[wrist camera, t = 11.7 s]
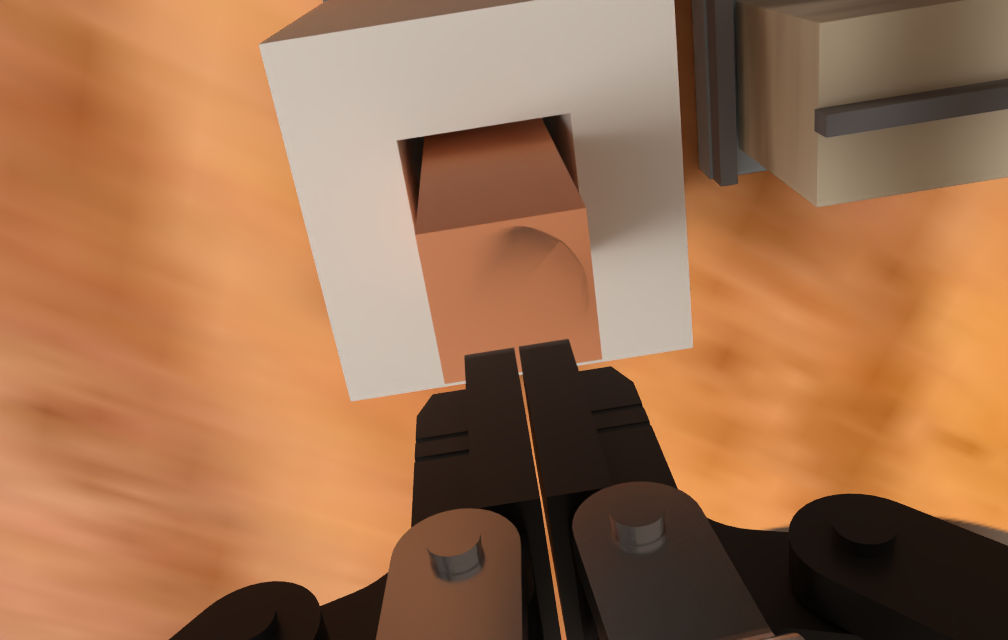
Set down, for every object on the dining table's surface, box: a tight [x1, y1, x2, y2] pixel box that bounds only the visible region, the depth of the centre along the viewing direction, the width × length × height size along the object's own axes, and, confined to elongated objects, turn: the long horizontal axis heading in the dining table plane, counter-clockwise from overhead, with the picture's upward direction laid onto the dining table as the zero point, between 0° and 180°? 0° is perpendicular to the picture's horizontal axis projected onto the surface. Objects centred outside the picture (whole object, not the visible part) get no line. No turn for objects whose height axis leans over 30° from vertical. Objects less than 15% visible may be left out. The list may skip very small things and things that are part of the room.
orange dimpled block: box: [415, 118, 602, 384], centre depth 19 cm, size 3×3×9 cm
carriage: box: [736, 0, 1008, 207], centre depth 26 cm, size 6×5×8 cm
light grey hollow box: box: [259, 0, 693, 401], centre depth 26 cm, size 9×9×12 cm
